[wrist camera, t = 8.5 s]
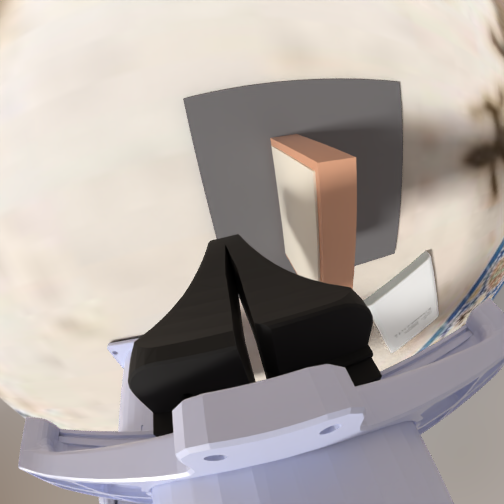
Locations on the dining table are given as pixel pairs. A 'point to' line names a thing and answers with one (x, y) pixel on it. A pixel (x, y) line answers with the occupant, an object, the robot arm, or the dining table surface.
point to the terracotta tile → (317, 207)
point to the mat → (308, 125)
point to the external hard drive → (405, 303)
